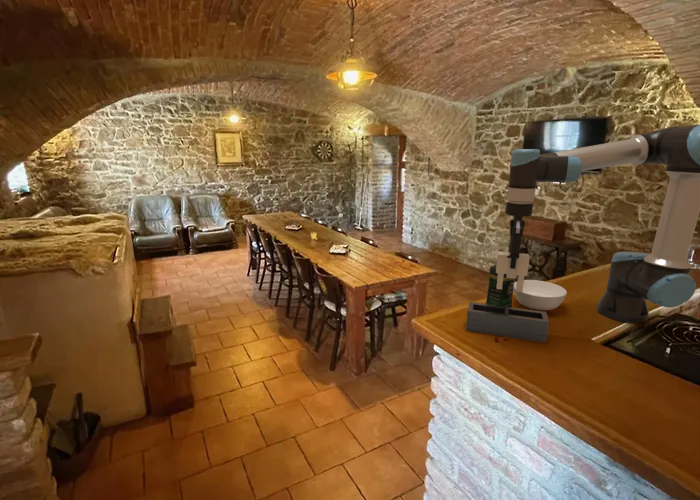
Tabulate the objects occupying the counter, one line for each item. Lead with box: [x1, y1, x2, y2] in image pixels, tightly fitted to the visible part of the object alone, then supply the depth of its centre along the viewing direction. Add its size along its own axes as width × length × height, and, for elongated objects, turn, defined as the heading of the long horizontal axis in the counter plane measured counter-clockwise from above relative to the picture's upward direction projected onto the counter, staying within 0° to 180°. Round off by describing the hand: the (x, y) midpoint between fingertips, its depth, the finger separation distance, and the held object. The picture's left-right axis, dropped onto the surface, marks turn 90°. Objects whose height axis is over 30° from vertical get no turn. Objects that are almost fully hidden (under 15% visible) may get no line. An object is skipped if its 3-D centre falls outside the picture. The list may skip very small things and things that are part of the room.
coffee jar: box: [485, 263, 516, 308], centre depth 137 cm, size 10×8×19 cm
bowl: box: [513, 279, 568, 311], centre depth 144 cm, size 18×18×7 cm
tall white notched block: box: [495, 251, 530, 292], centre depth 120 cm, size 9×4×12 cm, turn 69°
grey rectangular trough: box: [465, 301, 550, 344], centre depth 125 cm, size 24×8×7 cm, turn 69°
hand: (510, 275), depth 120 cm, fingers closed on tall white notched block, 4 cm apart
